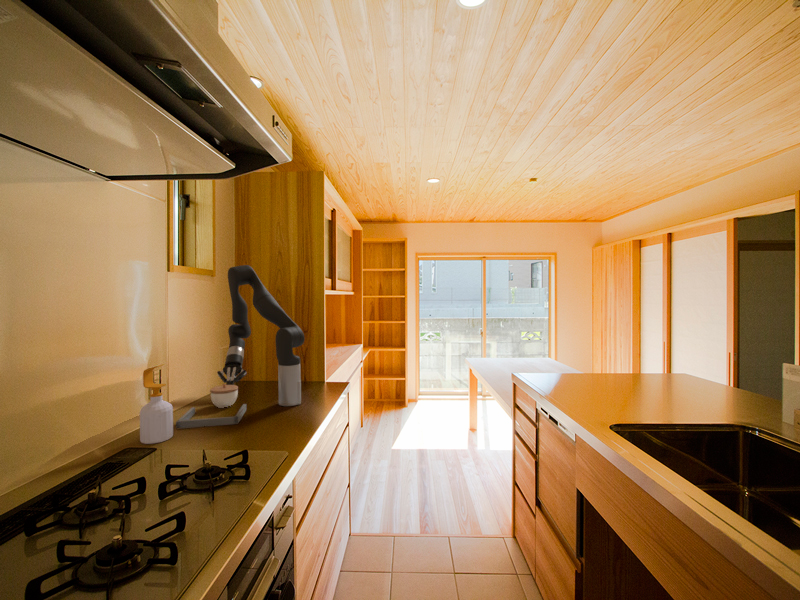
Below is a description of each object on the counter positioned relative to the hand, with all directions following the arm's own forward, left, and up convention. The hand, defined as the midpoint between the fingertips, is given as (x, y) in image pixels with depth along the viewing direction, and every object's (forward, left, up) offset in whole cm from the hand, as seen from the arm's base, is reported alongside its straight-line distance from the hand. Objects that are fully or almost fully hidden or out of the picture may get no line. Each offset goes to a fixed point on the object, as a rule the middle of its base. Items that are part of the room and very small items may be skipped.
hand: (229, 389), depth 162 cm
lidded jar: (0, +8, -5) cm, 10 cm away
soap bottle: (+13, +41, -5) cm, 43 cm away
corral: (0, +24, -5) cm, 25 cm away
